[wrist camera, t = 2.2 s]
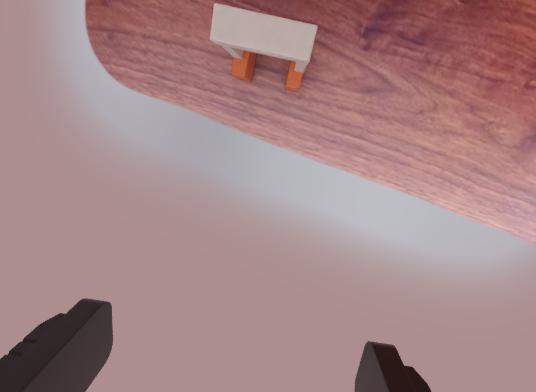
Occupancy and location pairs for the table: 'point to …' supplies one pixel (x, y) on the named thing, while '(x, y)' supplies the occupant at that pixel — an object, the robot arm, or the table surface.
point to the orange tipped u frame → (262, 41)
